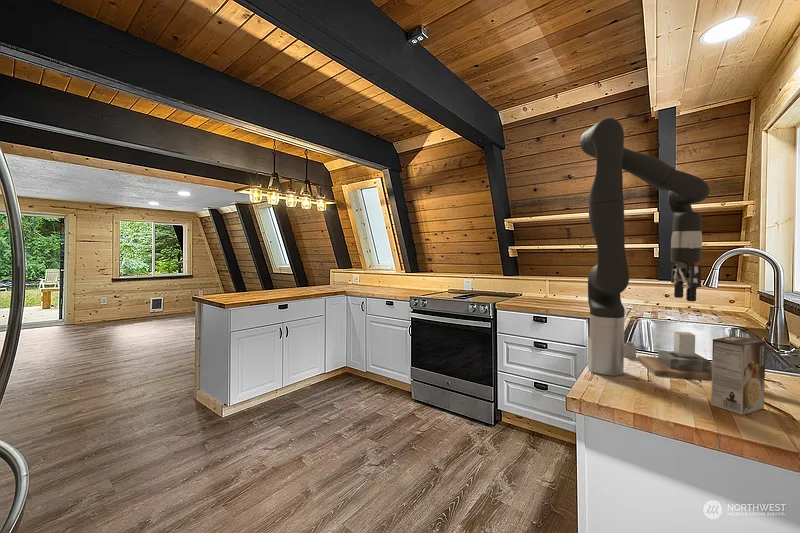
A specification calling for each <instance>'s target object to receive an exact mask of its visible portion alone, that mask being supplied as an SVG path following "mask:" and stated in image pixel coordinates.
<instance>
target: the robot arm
mask: <svg viewBox="0 0 800 533" xmlns="http://www.w3.org/2000/svg"><path fill="white" fill-rule="evenodd" d="M579 146H580V148H581V151H582V152H583V153H584V154H585V155H587V156H589V157H591V158H595V160H596V166H595V167H596V168H595V174H594V179H593V181H592V184H591V188H590V191H589V194H588V218H589V224H590V228H591V231H592V235H593V237H594V240H595V243H596V250H597V262H596V263H597V264H595V265H593V267H592V268H591V269H590V270H589V273H588V277H587V302H588V307H589V336H588V337H587V368H588V370H589V371H590V373H595V374H600V375H603V376H604V375H605V376H610V377H611V376H613V377H614V376H621V375H624V368H625V367H624V366H625V365H624V363H625V362H624V360H625V359H624V358H625V357H624V344H625V314H626V313H625V310H626V309H625V307H624V305H623V303H622V299H621V293H623V292H624V291H625V290H626V289H627V288H628V285H629V284H630V283H629V282H630V273H629V267H628V260H627V254H626V253H627V252H626V247H625V240H626V238H625V203H624V186H623V178H624V176H623V171H625V172H627V173H629V174H631V175H633V176H635V177H636V178H639V179H640V180H642V181H643V182H645V183H646V184H648V185H650V186H652V187H654V188H655V189H657V190H659V191H668V192H667V204H668V207H669V211H670V214H671V216H672V233H671V238H670V241H671V242H670V262H672V263H676V264H672V265H671V272H670V273H671V276H670V277H671V278H670V283H671V284H673V286H674V287H673V288H674V291H673V294H674V295H673V297H674V298H677V299H682V298H684V287H685V286H686V292H685V294H686V295H685V299H686V301H687V302H696V301H697V290H698V289H699V288H701V287H702V267H701V266H697V265H696V263H701V262H702V261H703V260H702V258H703V235H702V234H703V233H702V232H703V231H702V228H703V227H702V225H703V219H702V218H703V216H702V214H701V213H700V212H698V211H694V210H693V208H692V207H693V206H692V204H697V203H700V202H702V201H704V200H706V199H707V198H708V197H709V195H710V187H709V185H708V183H707V182H706V181H705V180H704V179H702V178H701V177H698V176H696V175H694V174H691V173H688V172H686V171H683V170H679V169H676V168H674V167H672V166H671V165H670V164H668V163H666V162H664V161H663V160H662V159H659V158H657V157H656V156H655V157H654V156H652V155H650V154H649V155H648V154H645V153H640V152H638V151H634V150H631V149H629V148H626V147H624V146H625V131H624V128H623V125H622V123H621V122H620V121H618V120H617V119H616V118H612V117H609V118H608V117H607V118H604V119H602V120H599V121H598V122H596V123H595V124H594V125H592V126H590V127H589V128H588V129H586V130H584V132H583V133H582V135H581V136H580V139H579ZM684 285H685V286H684Z"/></svg>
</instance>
